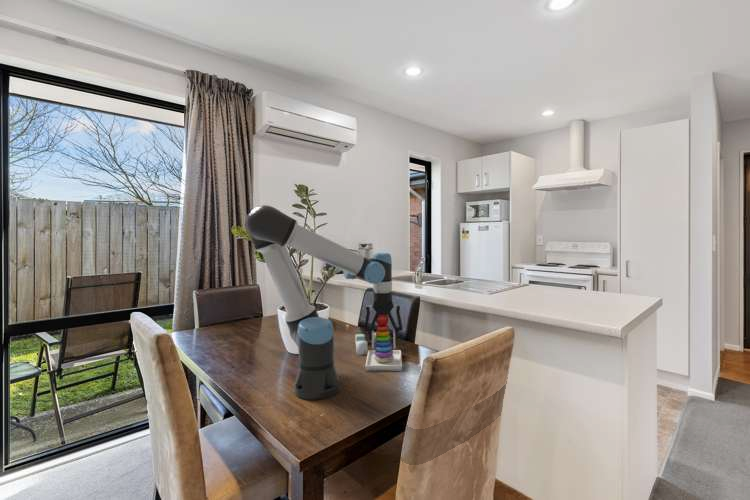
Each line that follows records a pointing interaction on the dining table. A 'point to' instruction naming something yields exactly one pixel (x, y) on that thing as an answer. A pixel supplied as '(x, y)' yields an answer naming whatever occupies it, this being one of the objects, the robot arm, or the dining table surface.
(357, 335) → the teal cube
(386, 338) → the stacking toy
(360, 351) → the light grey cube
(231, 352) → the dining table surface
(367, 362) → the cream tray
